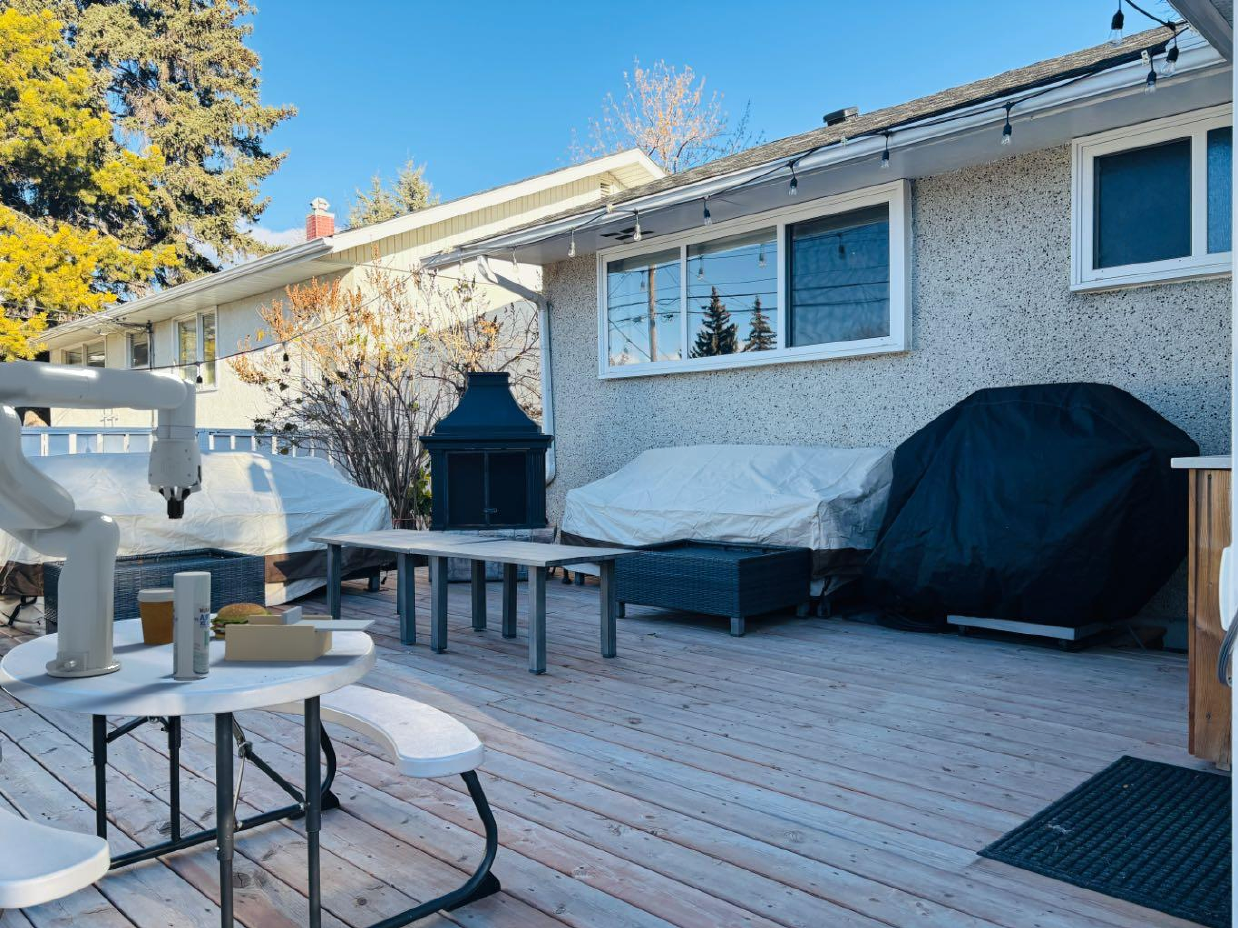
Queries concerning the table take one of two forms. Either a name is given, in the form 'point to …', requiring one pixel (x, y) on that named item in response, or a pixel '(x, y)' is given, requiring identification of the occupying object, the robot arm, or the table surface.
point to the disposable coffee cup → (157, 615)
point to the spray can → (191, 625)
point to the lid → (324, 622)
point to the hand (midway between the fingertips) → (175, 518)
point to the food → (235, 616)
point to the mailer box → (276, 640)
